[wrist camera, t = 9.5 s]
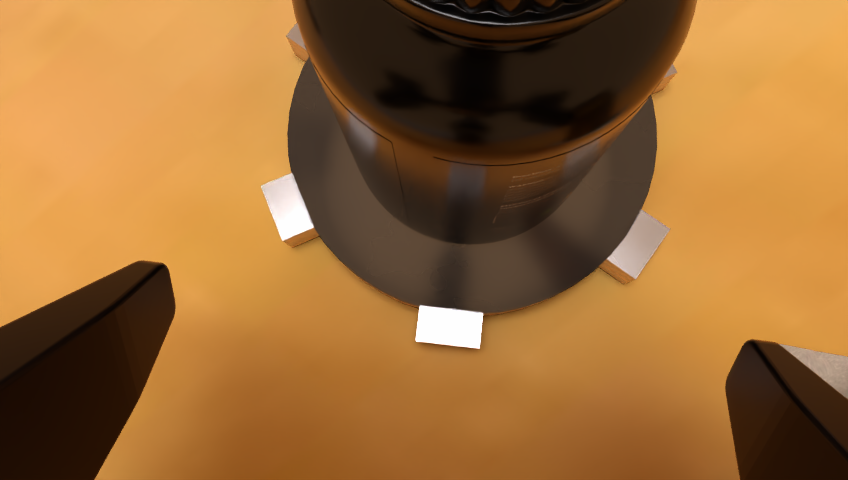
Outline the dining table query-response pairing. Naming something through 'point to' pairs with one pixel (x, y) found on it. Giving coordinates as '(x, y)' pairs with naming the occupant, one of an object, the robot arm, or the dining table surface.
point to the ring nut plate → (461, 263)
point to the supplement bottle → (485, 99)
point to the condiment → (824, 366)
